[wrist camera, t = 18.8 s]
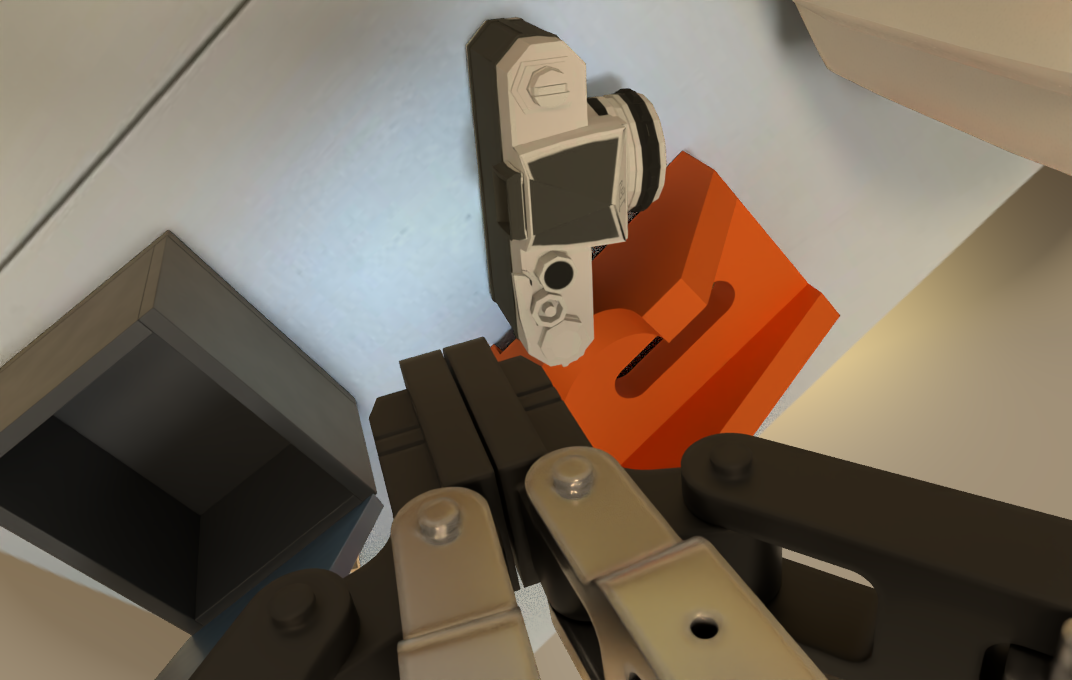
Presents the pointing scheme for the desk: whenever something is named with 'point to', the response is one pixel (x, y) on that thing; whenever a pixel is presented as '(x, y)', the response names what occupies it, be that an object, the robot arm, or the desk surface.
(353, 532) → the lid
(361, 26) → the desk surface
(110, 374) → the open box
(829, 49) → the vase
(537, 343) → the camera
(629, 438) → the orange slotted stand
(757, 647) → the robot arm
